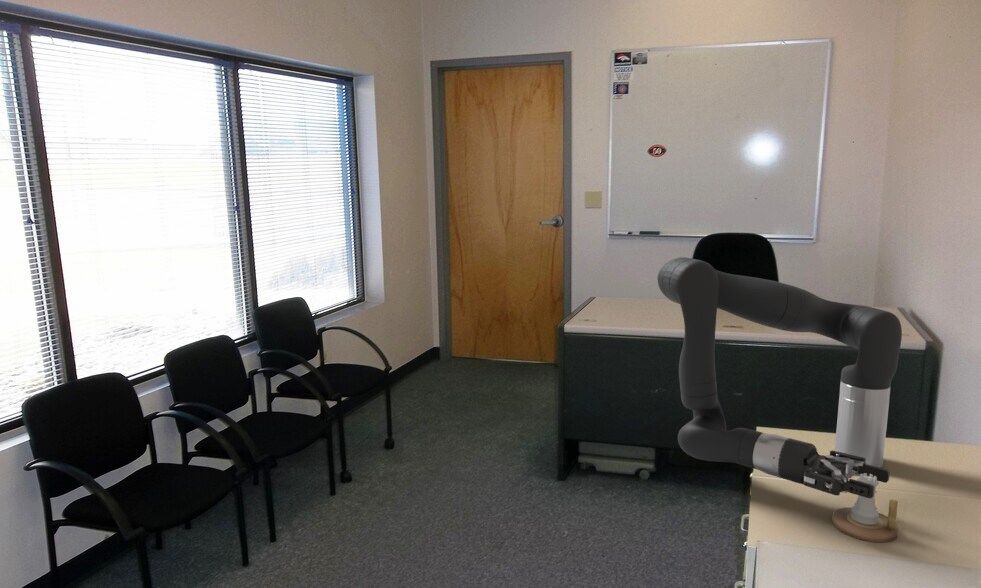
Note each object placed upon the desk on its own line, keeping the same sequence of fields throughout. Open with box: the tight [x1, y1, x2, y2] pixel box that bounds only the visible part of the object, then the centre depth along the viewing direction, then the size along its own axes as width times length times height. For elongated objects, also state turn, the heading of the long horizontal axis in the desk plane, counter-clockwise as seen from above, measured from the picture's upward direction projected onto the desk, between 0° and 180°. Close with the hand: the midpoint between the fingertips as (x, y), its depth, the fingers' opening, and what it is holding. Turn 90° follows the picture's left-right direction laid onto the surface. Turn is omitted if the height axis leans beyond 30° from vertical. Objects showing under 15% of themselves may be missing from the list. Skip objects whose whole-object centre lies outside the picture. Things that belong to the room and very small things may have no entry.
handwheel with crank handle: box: [831, 499, 900, 543], centre depth 119 cm, size 10×10×6 cm
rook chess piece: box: [850, 473, 880, 525], centre depth 119 cm, size 4×4×8 cm
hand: (881, 484), depth 117 cm, fingers open, 8 cm apart
